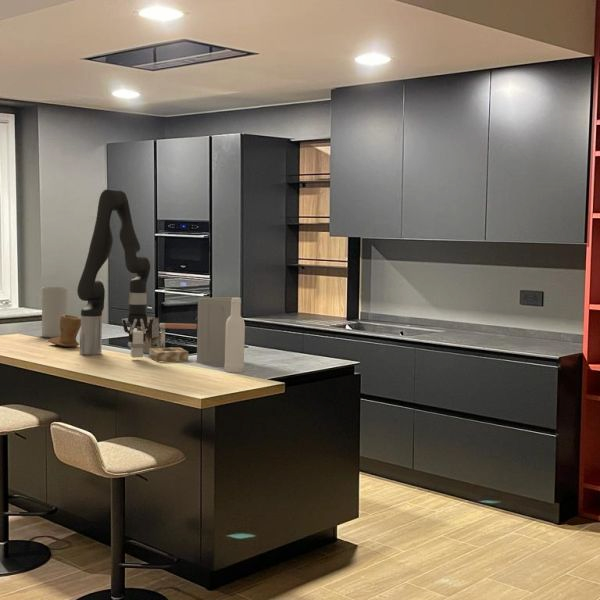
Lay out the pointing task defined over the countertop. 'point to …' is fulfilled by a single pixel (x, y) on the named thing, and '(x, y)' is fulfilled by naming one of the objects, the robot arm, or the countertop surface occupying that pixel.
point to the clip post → (162, 338)
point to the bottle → (234, 339)
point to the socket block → (168, 354)
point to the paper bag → (212, 329)
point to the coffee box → (152, 335)
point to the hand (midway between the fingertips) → (137, 342)
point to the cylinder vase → (53, 310)
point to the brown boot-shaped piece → (67, 331)
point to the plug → (137, 344)
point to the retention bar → (178, 326)
